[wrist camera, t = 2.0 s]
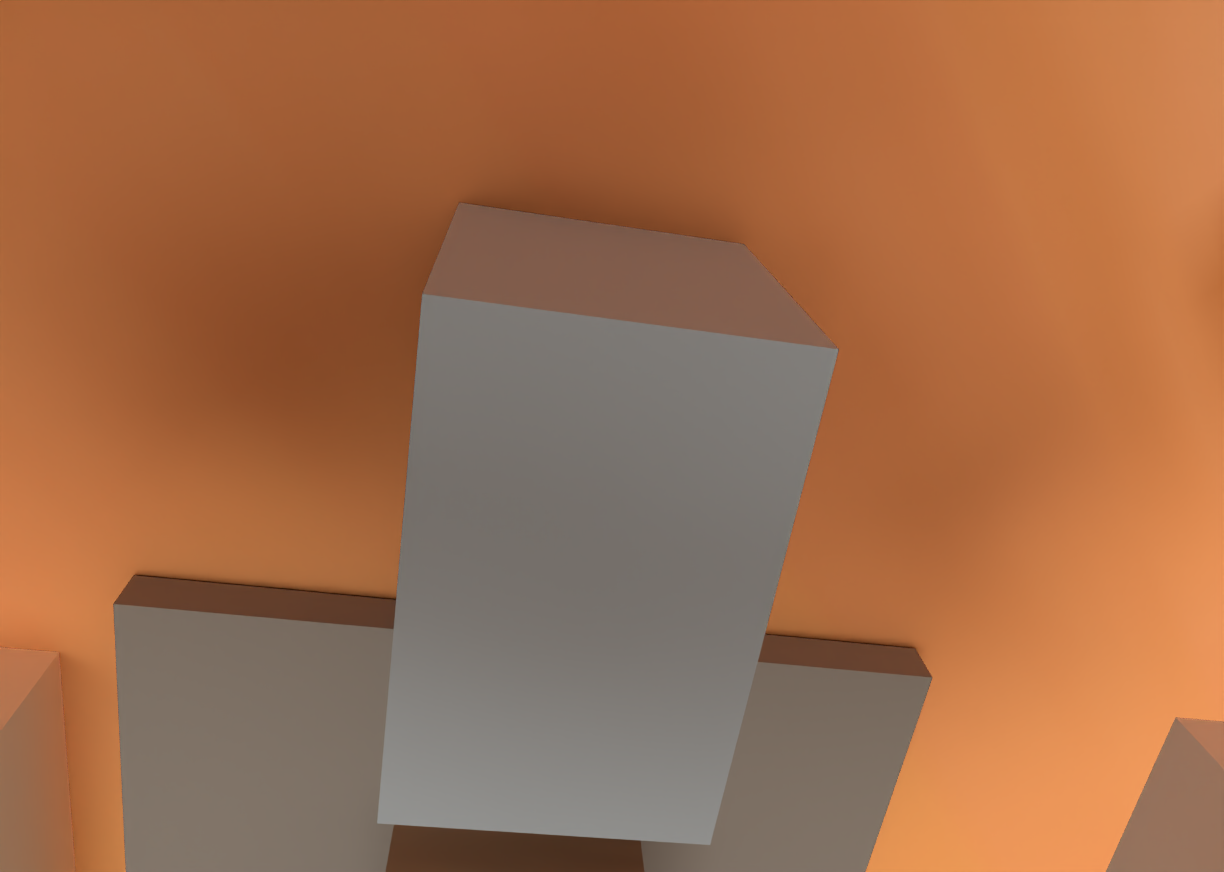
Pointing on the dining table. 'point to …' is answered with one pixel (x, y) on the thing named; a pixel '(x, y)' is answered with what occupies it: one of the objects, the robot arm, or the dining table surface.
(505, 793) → the brick top
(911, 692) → the build board
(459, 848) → the brick base
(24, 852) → the brick
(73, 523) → the dining table surface
